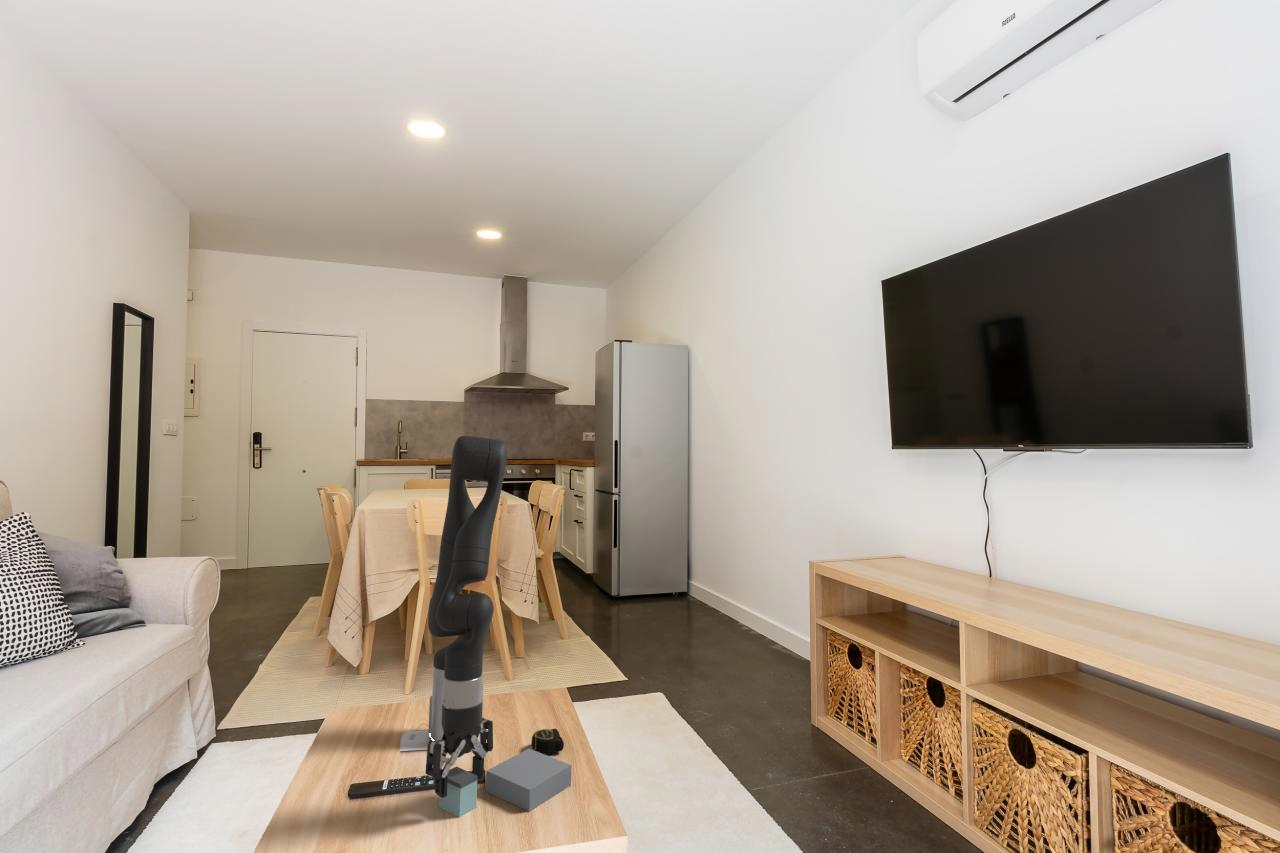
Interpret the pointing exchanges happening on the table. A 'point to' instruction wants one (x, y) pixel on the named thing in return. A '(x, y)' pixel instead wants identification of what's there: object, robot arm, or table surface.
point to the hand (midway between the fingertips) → (459, 786)
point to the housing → (460, 792)
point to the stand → (528, 779)
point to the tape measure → (547, 741)
